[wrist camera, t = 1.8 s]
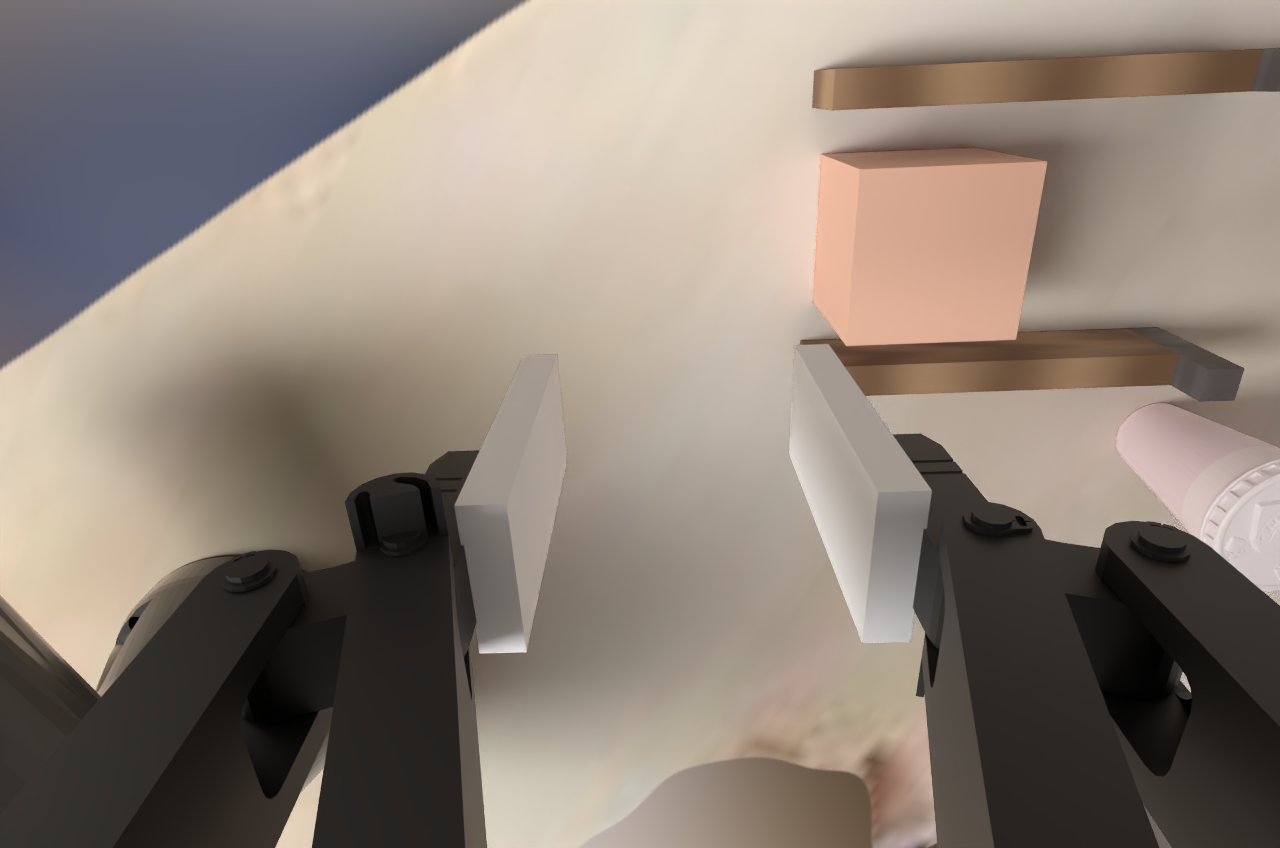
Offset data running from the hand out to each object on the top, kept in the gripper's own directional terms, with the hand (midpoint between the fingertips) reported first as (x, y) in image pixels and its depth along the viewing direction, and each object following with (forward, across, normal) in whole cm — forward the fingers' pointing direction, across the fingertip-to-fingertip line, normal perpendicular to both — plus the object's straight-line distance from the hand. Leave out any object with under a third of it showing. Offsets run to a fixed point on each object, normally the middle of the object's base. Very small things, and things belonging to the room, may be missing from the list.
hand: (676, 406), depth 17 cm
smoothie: (+21, +26, -12) cm, 36 cm away
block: (+21, +11, 0) cm, 24 cm away
